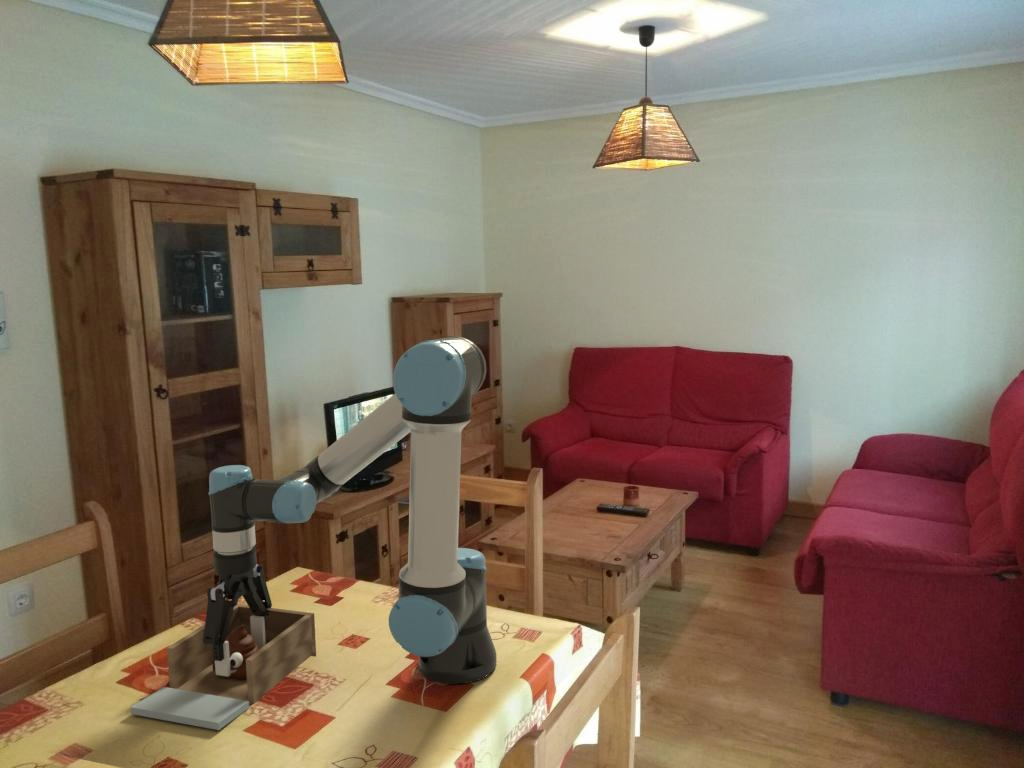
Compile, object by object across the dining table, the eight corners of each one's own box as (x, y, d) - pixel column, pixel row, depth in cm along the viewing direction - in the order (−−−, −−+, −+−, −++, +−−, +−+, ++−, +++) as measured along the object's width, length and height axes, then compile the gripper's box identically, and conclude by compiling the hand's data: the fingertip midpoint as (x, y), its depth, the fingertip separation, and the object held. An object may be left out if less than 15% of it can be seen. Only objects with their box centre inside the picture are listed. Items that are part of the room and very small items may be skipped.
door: (163, 686, 142) (130, 707, 135) (248, 701, 137) (218, 723, 129) (164, 693, 142) (130, 713, 135) (248, 707, 137) (219, 730, 129)
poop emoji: (274, 663, 153) (272, 618, 151) (249, 686, 145) (247, 638, 143) (229, 657, 155) (227, 612, 154) (202, 678, 147) (200, 631, 146)
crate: (240, 644, 163) (237, 603, 162) (316, 655, 158) (314, 613, 157) (170, 694, 144) (166, 647, 143) (254, 708, 139) (251, 660, 138)
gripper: (254, 528, 158) (260, 633, 161) (175, 568, 137) (183, 687, 140) (286, 531, 156) (292, 637, 159) (211, 572, 135) (219, 693, 138)
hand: (241, 661), depth 149 cm, fingers open, 10 cm apart
